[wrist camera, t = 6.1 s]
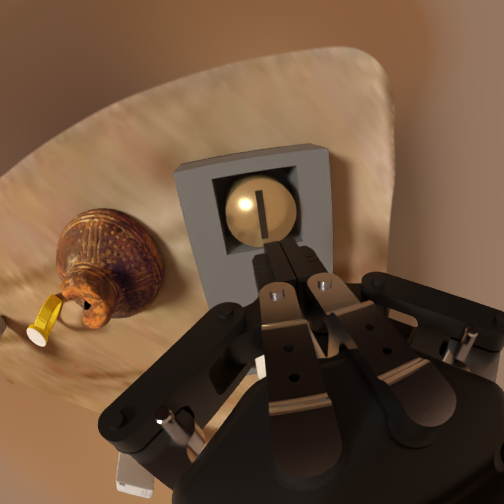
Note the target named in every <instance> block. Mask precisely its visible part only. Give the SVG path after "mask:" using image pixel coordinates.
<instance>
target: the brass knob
mask: <svg viewBox="0 0 504 504" xmlns="http://www.w3.org/2000/svg"><path fill="white" fill-rule="evenodd" d="M225 210H226V221H227V225H228V227H229V230H230V231H231V233H232V234H233V235H234V237H235V238H237V239H238V240H239V241H240V242H242V243H244V244H246V245H249V246H253V247H264V245H263V244H264V243H268V242H274V241H279V240H282V239H283V238H285V237H286V236H287V235H288V233H289V232H290V231H291V229H292V227H293V225H294V223H295V220H296V204H295V201H294V199H293V197H292V195H291V194H290V192H289V191H288V190H287V189H286V188H285V187H284V186H283V185H282V184H281V183H280V182H279V181H278V180H277V179H276V178H275V177H274V176H273V175H271V174H270V173H268V172H265V171H255V172H248V173H243V174H239V175H238V176H236V177H235V178H234V179H233V180H232V181H231V182H230V184H229V185H228V188H227V190H226V193H225Z"/></svg>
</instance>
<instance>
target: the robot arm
mask: <svg viewBox="0 0 504 504" xmlns="http://www.w3.org/2000/svg"><path fill="white" fill-rule="evenodd" d="M263 245H264V253H263V254H257V255H255V256H254V258H253V260H252V264H253V270H254V276H255V282H256V287H257V292H258V298H257V299H256V300H255V301H254V302H253V303H251V304H249V305H247V306H245V307H242V306H241V305H240V304H238V303H235V302H224V303H220V304H218V305H216V306H214V307H213V308H211V309H210V310H209V311H208V312H207V313H206V314H205V315H204V316H203V317H202V318H201V319H200V320H199V321H198V322H197V323H196V324H195V325H194V326H193V327H192V328H191V329H190V330H188V331H187V332H186V333H185V334H184V335H183V336H182V337H181V338H180V339H179V340H178V341H177V342H176V343H175V344H174V345H173V346H172V347H171V348H170V349H169V350H168V351H167V352H166V353H164V354H163V355H162V356H161V357H160V358H159V359H158V360H157V361H156V362H155V363H154V364H153V365H152V366H151V367H150V368H149V369H148V370H147V371H146V372H144V373H143V374H142V375H141V376H140V377H139V378H138V379H137V380H136V381H135V382H134V383H133V384H132V385H131V386H130V387H129V388H127V389H126V390H125V391H124V392H123V393H122V394H121V395H120V396H119V397H118V398H117V399H116V400H115V401H114V402H113V403H111V404H110V405H109V406H108V407H107V408H106V409H105V410H104V411H103V412H102V414H101V415H100V417H99V420H98V429H99V432H100V434H101V435H102V436H103V437H104V438H105V439H106V440H107V441H108V442H110V443H111V444H112V445H114V446H115V448H116V449H117V450H118V451H120V452H121V453H122V454H124V455H125V456H126V457H128V458H129V459H131V460H132V461H133V462H135V463H137V464H139V465H141V466H142V467H144V468H145V469H146V470H147V471H148V472H150V473H151V474H152V475H153V476H154V477H156V478H157V479H158V480H160V481H161V482H162V483H163V484H165V485H166V486H167V487H169V488H170V489H171V490H173V494H172V504H504V392H503V390H502V389H501V388H500V387H499V386H498V385H497V384H496V383H495V381H496V375H497V370H498V364H499V357H500V352H501V351H502V349H503V347H504V312H503V311H500V310H497V309H494V308H491V307H489V306H485V305H482V304H480V303H477V302H474V301H471V300H468V299H465V298H462V297H458V296H455V295H452V294H449V293H446V292H443V291H440V290H437V289H434V288H431V287H428V286H424V285H421V284H418V283H415V282H412V281H409V280H406V279H402V278H399V277H396V276H393V275H389V274H386V273H383V272H370V273H367V274H366V275H364V276H363V278H362V282H361V283H354V284H349V283H344V282H343V281H342V280H341V279H340V277H338V276H337V275H335V274H332V273H328V271H327V270H326V268H325V267H324V265H323V264H322V262H321V261H320V259H319V258H318V256H317V255H316V253H315V252H314V250H313V249H311V248H309V247H308V246H306V245H305V246H300V247H299V246H298V244H297V242H296V241H295V239H294V238H290V239H284V240H279V241H274V242H268V243H264V244H263ZM390 308H391V309H394V310H397V311H399V312H402V313H405V314H408V315H411V316H413V317H414V318H416V320H417V322H418V327H413V326H410V325H407V324H404V323H402V322H399V321H396V320H394V319H391V318H388V316H389V311H390ZM307 322H308V323H307ZM308 324H309V327H308ZM313 343H314V344H313ZM314 345H315V347H316V349H317V351H318V353H319V355H320V357H321V358H317V355H316V351H315V348H314ZM263 355H264V359H265V369H266V377H264V378H262V379H260V380H259V381H257V382H256V383H255V384H254V385H252V386H251V387H250V388H249V389H248V390H247V391H246V392H245V394H244V395H243V396H242V398H241V399H240V400H239V402H238V403H237V405H236V406H235V408H234V409H233V410H232V412H231V413H230V414H229V416H228V417H227V419H226V420H225V421H224V423H223V424H222V425H221V427H220V428H219V429H218V431H217V432H216V433H215V435H214V436H213V437H212V439H211V440H210V441H209V443H208V444H207V445H206V447H205V448H204V449H203V450H202V448H203V446H204V444H205V435H204V433H203V431H202V429H203V428H204V427H205V426H206V424H207V423H208V422H209V421H210V420H211V418H212V417H213V416H214V415H215V414H216V412H217V411H218V410H219V409H220V407H221V406H222V405H223V404H224V403H225V401H226V400H227V399H228V398H229V396H230V395H231V394H232V392H233V391H234V390H235V389H236V387H237V386H238V385H239V384H240V382H241V381H242V380H243V378H244V377H245V376H246V374H247V373H248V372H249V370H250V369H251V368H252V366H253V365H254V362H255V359H256V358H258V357H260V356H263ZM201 450H202V452H201V453H200V451H201ZM199 453H200V454H199Z"/></svg>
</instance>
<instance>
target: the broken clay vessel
mask: <svg viewBox="0 0 504 504" xmlns="http://www.w3.org/2000/svg"><path fill="white" fill-rule="evenodd" d="M115 223H116V224H115ZM74 228H75V229H74ZM113 234H114V235H113ZM136 238H137V239H136ZM133 239H134V240H133ZM66 242H67V243H66ZM77 243H78V244H77ZM150 243H151V244H150ZM147 247H148V248H147ZM129 262H130V263H129ZM56 266H57V271H58V276H59V278H60V281H61V282H62V284H61V291H62V294H63V296H64V297H65V298H66V299H68V300H72V299H74V300H75V302H76V303H77V304H79V305H80V306H81V307H82V308H83V321H84V324H85V326H86V327H87V328H90V329H98V328H101V327H103V326H105V325H106V324H107V323H108V322H109V321H110V319H111V318H127V317H131V316H133V315H135V314H138V313H139V312H141V311H143V310H144V309H146V308H147V307H148V306H149V305H150V304H151V303H152V302H153V301H154V299H155V298H156V297H157V295H158V293H159V291H160V289H161V287H162V284H163V278H164V268H163V262H162V258H161V256H160V254H159V252H158V249H157V246H156V245H155V243H154V242H153V240H152V239H151V238H150V236H149V235H148V234H147V233H146V232H145V230H144V229H143V228H142V227H141V226H140V225H138V224H137V223H136V222H135V221H134V220H132V219H131V218H130V217H128V216H126V215H124V214H123V213H120V212H117V211H114V210H110V209H102V208H100V209H93V210H89V211H87V212H83V213H81V214H79V215H78V216H76V217H75V218H74V219H73V220H72V221H71V222H70V223H69V224H68V225H67V226H66V227H65V228H64V230H63V232H62V234H61V236H60V238H59V241H58V245H57V251H56ZM115 275H116V276H115ZM105 279H106V280H105ZM148 288H149V289H148ZM100 289H101V290H100ZM138 299H139V300H138ZM100 301H101V302H100ZM117 301H118V302H117ZM110 305H111V306H110Z"/></svg>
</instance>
